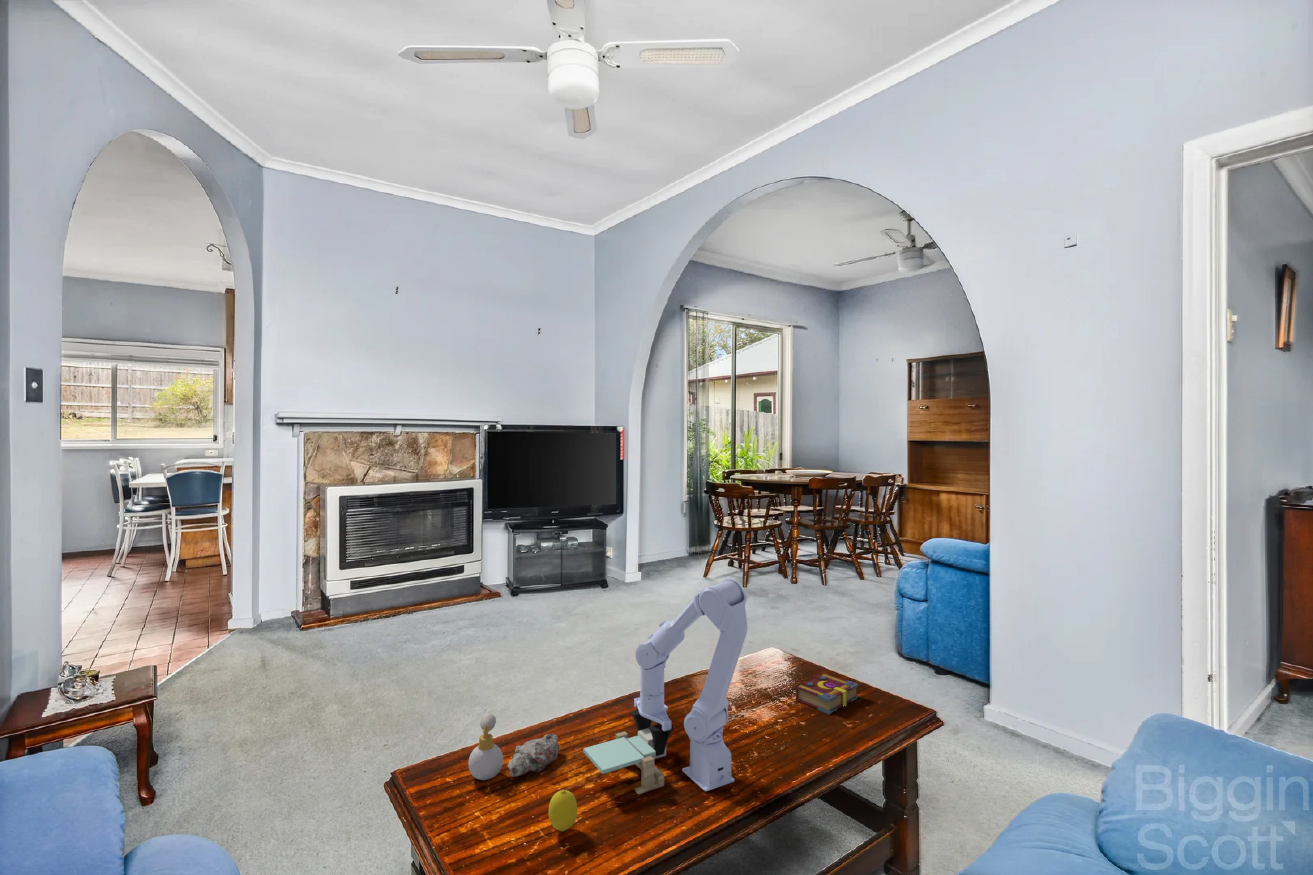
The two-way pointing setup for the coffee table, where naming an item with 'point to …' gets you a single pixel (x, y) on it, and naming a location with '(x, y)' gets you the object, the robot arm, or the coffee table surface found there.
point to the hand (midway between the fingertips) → (651, 747)
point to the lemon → (563, 810)
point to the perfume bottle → (486, 752)
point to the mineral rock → (534, 755)
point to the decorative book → (826, 693)
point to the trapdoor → (618, 753)
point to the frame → (647, 772)
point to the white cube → (649, 740)
